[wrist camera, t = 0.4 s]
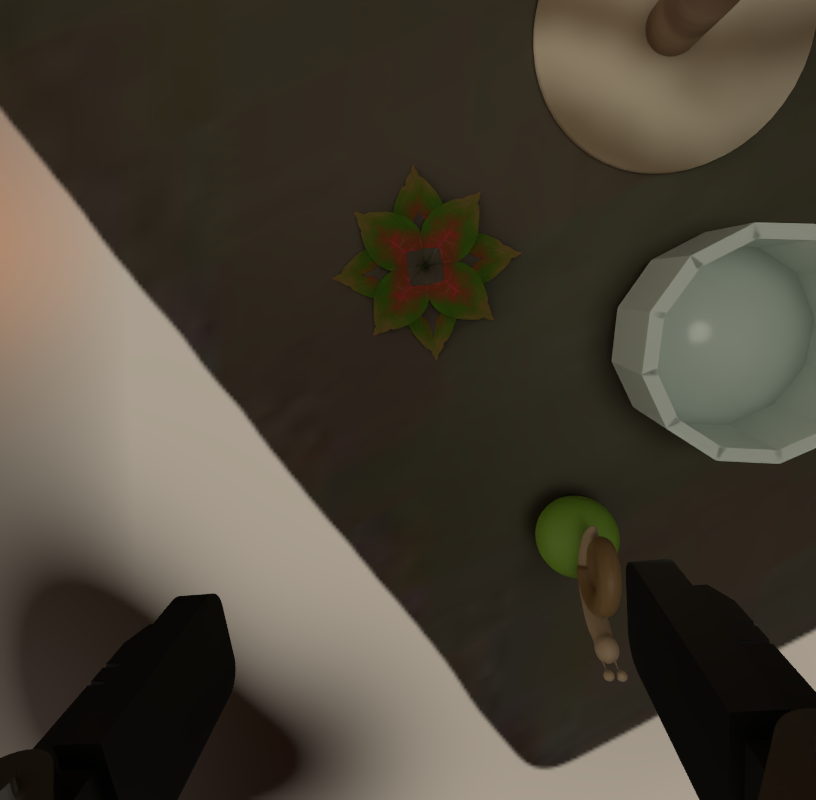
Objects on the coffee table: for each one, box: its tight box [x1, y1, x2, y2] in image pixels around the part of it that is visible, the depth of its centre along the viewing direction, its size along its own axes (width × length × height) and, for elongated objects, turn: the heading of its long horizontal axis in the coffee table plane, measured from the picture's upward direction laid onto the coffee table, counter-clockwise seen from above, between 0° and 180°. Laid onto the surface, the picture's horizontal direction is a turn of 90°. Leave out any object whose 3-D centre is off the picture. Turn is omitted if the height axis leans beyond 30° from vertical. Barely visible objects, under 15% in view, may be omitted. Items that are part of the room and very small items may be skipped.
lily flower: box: [332, 165, 521, 361], centre depth 34 cm, size 12×12×5 cm
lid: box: [533, 0, 816, 174], centre depth 29 cm, size 16×16×6 cm
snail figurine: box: [535, 496, 627, 681], centre depth 33 cm, size 5×6×12 cm
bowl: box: [612, 222, 816, 464], centre depth 32 cm, size 13×13×6 cm
